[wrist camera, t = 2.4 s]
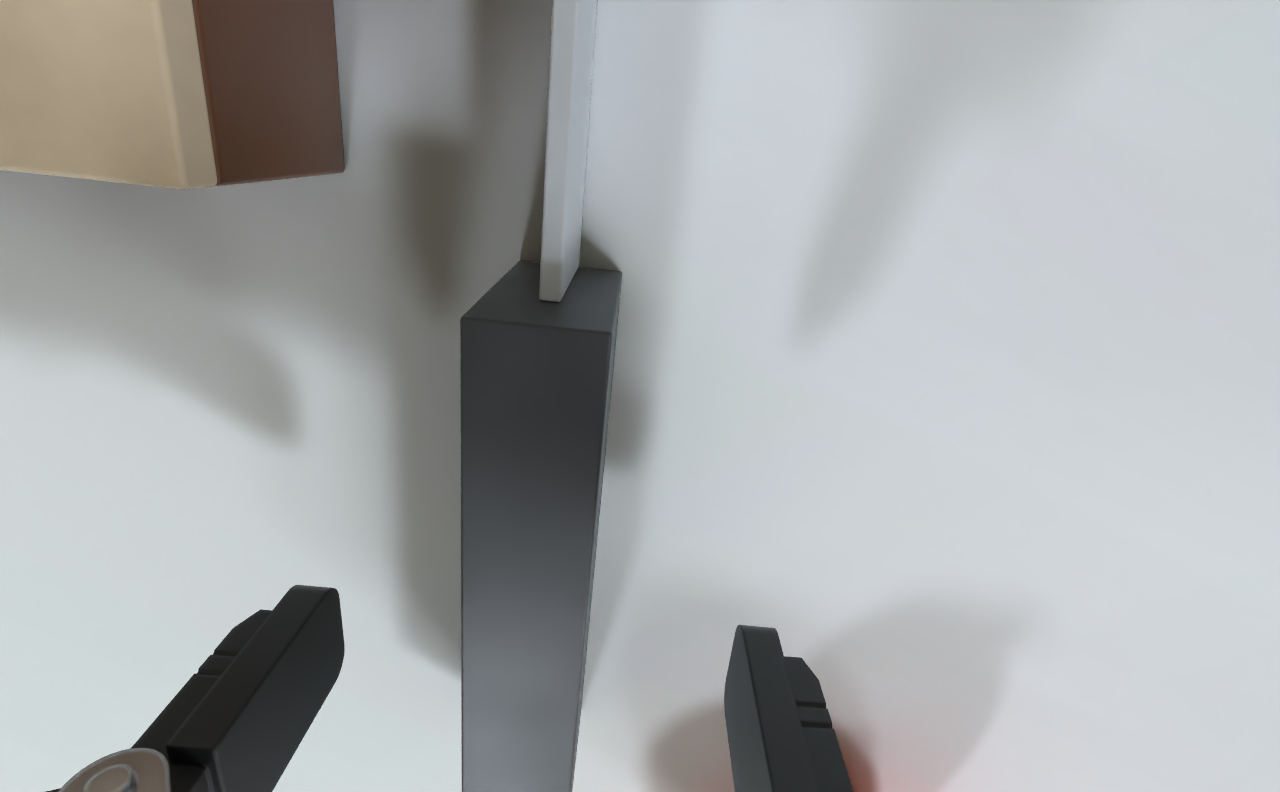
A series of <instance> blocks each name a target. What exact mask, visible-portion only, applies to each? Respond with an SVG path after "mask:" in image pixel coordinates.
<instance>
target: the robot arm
mask: <svg viewBox="0 0 1280 792" xmlns="http://www.w3.org/2000/svg"><path fill="white" fill-rule="evenodd" d="M343 658H344V637H343V628H342V618H341V609H340V599H339V594H338V591H337V590H336V589H335V588H326V587H315V586H304V585H295V586H293V587H292V588H290V590H289V591H288V592H287V593H286V594H285V596H284V597H283V598H282V599H281V601H280V602H279V603H278V604H277V606H276V607H275V608H274V609H273V611H270V610H259V611H258V612H256V613H255V614H253V615H252V616H250V617H249V618H247V619H246V620H245V621H243V622H242V623H240V624H239V625H237V626H236V627H234V628H233V629H232V630H231V631H230V633H229V634H228V635H227V636H226V637H225V638H224V640H223V641H222V642H221V643H220V644H219V646H218V647H217V648H216V649H215V650H214V654H213V655H210V656H209V657H208V658H207V660H206V661H205V662H204V663H203V664H202V666H201V667H200V668H199V671H198V673H197V674H194V675H193V676H192V677H191V678H190V680H189V681H188V682H187V683H186V684H185V686H184V687H183V688H182V689H181V690H180V691H179V693H178V694H177V695H176V696H175V697H174V698H173V700H172V701H171V702H170V703H169V704H168V705H167V707H166V708H165V709H164V710H163V711H162V713H161V714H160V715H159V716H158V717H157V718H156V720H155V721H154V722H153V723H152V724H151V725H150V727H149V728H148V729H147V730H146V731H145V733H144V734H143V735H142V736H141V737H140V738H139V740H138V741H137V742H136V743H135V744H134V745H133V746H132V747H131V748H130V749H127V750H122V751H119V752H116V753H113V754H110V755H108V756H105V757H103V758H101V759H99V760H97V761H95V762H93V763H91V764H90V765H88V766H87V767H85V768H84V769H82V770H81V771H79V772H78V773H77V774H76V775H74V776H73V777H72V778H71V779H70V780H69V781H68V782H67V783H66V784H65V785H64V786H63V787H62V788H60V789H56V790H52V791H47V792H272V791H273V789H274V787H275V786H276V784H277V782H278V780H279V779H280V777H281V775H282V774H283V772H284V770H285V768H286V767H287V765H288V763H289V761H290V760H291V758H292V756H293V755H294V753H295V751H296V749H297V748H298V746H299V744H300V742H301V741H302V739H303V737H304V736H305V734H306V732H307V730H308V729H309V727H310V725H311V723H312V722H313V720H314V718H315V716H316V715H317V713H318V711H319V710H320V708H321V706H322V704H323V703H324V701H325V699H326V697H327V696H328V694H329V692H330V691H331V689H332V687H333V685H334V684H335V682H336V680H337V678H338V676H339V673H340V670H341V667H342V663H343ZM724 707H725V719H726V726H727V734H728V742H729V749H730V757H731V765H732V772H733V780H734V788H735V792H853V789H852V786H851V783H850V779H849V776H848V773H847V770H846V767H845V763H844V760H843V757H842V754H841V750H840V747H839V744H838V741H837V738H836V734H835V731H834V729H832V722H831V718H830V715H829V712H828V709H826V702H825V699H824V696H823V693H822V690H821V686H820V683H819V680H818V679H817V677H816V676H815V675H814V673H813V672H812V671H811V670H810V668H809V667H808V666H807V664H806V663H805V662H804V660H803V659H802V658H796V657H785V656H783V652H782V648H781V644H780V640H779V636H778V633H777V631H776V629H775V628H768V627H756V626H745V625H738V626H737V629H736V632H735V637H734V642H733V647H732V652H731V657H730V662H729V667H728V672H727V677H726V683H725V695H724Z"/></svg>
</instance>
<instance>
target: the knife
mask: <svg viewBox="0 0 1280 792" xmlns="http://www.w3.org/2000/svg"><path fill="white" fill-rule="evenodd" d="M596 12H597V0H552V21H551V44H550V66H549V88H548V110H547V132H546V154H545V177H544V199H543V221H542V243H541V263H534V262H525V261H519V262H518V263H517V264H516V265H515V266H514V267H513V268H512V269H511V270H510V271H509V272H508V273H506V274H505V275H504V276H503V277H502V278H501V279H500V280H499V281H498V282H497V283H496V284H495V285H494V286H493V287H492V288H491V289H490V290H489V291H488V292H487V293H486V294H485V295H484V296H483V297H482V298H481V299H480V300H479V301H478V302H477V303H476V304H475V305H474V306H473V307H472V308H471V309H470V310H469V311H468V312H467V313H466V314H464V315H463V316H462V317H461V320H460V330H461V666H462V792H572V788H573V779H574V770H575V761H576V751H577V742H578V733H579V724H580V715H581V704H582V694H583V683H584V673H585V662H586V651H587V641H588V630H589V620H590V609H591V599H592V588H593V577H594V567H595V556H596V546H597V535H598V525H599V514H600V503H601V493H602V482H603V472H604V461H605V451H606V440H607V429H608V419H609V408H610V398H611V387H612V376H613V366H614V355H615V345H616V334H617V324H618V313H619V302H620V292H621V281H622V272H619V271H610V270H600V269H591V268H581V267H578V266H579V261H580V246H581V232H582V217H583V202H584V188H585V173H586V159H587V144H588V129H589V115H590V100H591V85H592V71H593V56H594V41H595V27H596Z"/></svg>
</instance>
